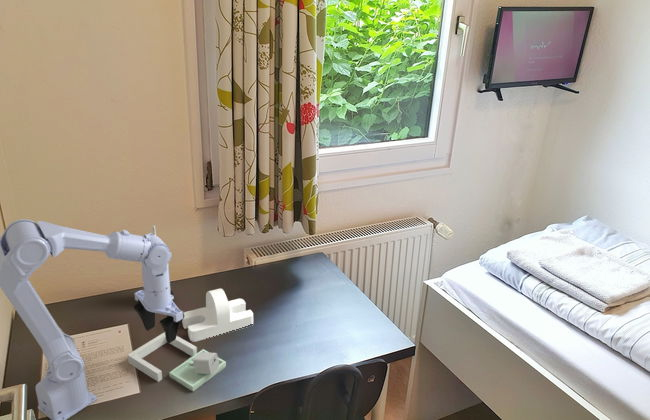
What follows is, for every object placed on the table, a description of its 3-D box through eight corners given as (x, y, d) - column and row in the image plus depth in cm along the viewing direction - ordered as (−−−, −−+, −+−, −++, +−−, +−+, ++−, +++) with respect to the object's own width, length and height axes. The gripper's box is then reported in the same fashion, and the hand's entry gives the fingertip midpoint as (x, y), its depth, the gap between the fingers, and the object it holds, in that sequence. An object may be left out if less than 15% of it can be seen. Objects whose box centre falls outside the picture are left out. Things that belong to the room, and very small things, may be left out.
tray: (193, 391, 121) (192, 386, 120) (169, 377, 125) (169, 372, 124) (226, 366, 129) (226, 361, 129) (203, 353, 133) (203, 349, 132)
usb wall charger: (211, 375, 123) (208, 361, 122) (186, 374, 126) (183, 359, 124) (219, 366, 127) (216, 351, 126) (195, 364, 129) (192, 350, 128)
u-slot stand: (181, 323, 144) (179, 291, 140) (242, 308, 153) (241, 276, 149) (191, 343, 137) (189, 309, 133) (254, 325, 146) (254, 293, 141)
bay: (158, 381, 123) (157, 373, 122) (128, 362, 128) (127, 354, 127) (197, 354, 132) (196, 347, 131) (167, 338, 138) (167, 330, 137)
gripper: (191, 289, 118) (194, 337, 123) (150, 268, 125) (154, 315, 130) (167, 303, 112) (171, 353, 118) (125, 280, 119) (130, 329, 125)
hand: (160, 334), depth 124 cm, fingers open, 7 cm apart
